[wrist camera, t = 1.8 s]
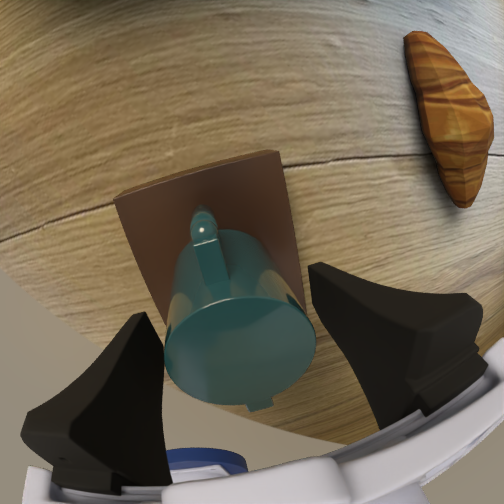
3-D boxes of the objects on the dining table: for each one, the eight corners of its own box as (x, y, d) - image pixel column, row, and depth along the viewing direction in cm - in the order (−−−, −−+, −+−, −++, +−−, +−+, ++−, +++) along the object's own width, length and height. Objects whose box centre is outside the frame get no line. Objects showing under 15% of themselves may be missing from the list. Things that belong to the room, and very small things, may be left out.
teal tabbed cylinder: (196, 337, 15) (202, 424, 10) (146, 210, 12) (109, 268, 7) (283, 313, 16) (321, 391, 10) (254, 179, 12) (300, 213, 7)
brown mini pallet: (187, 346, 18) (187, 366, 16) (123, 190, 13) (112, 198, 12) (299, 314, 19) (309, 332, 17) (268, 149, 14) (279, 150, 12)
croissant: (474, 185, 18) (517, 201, 13) (429, 219, 18) (476, 244, 13) (429, 30, 12) (477, 21, 7) (369, 40, 12) (421, 20, 7)
